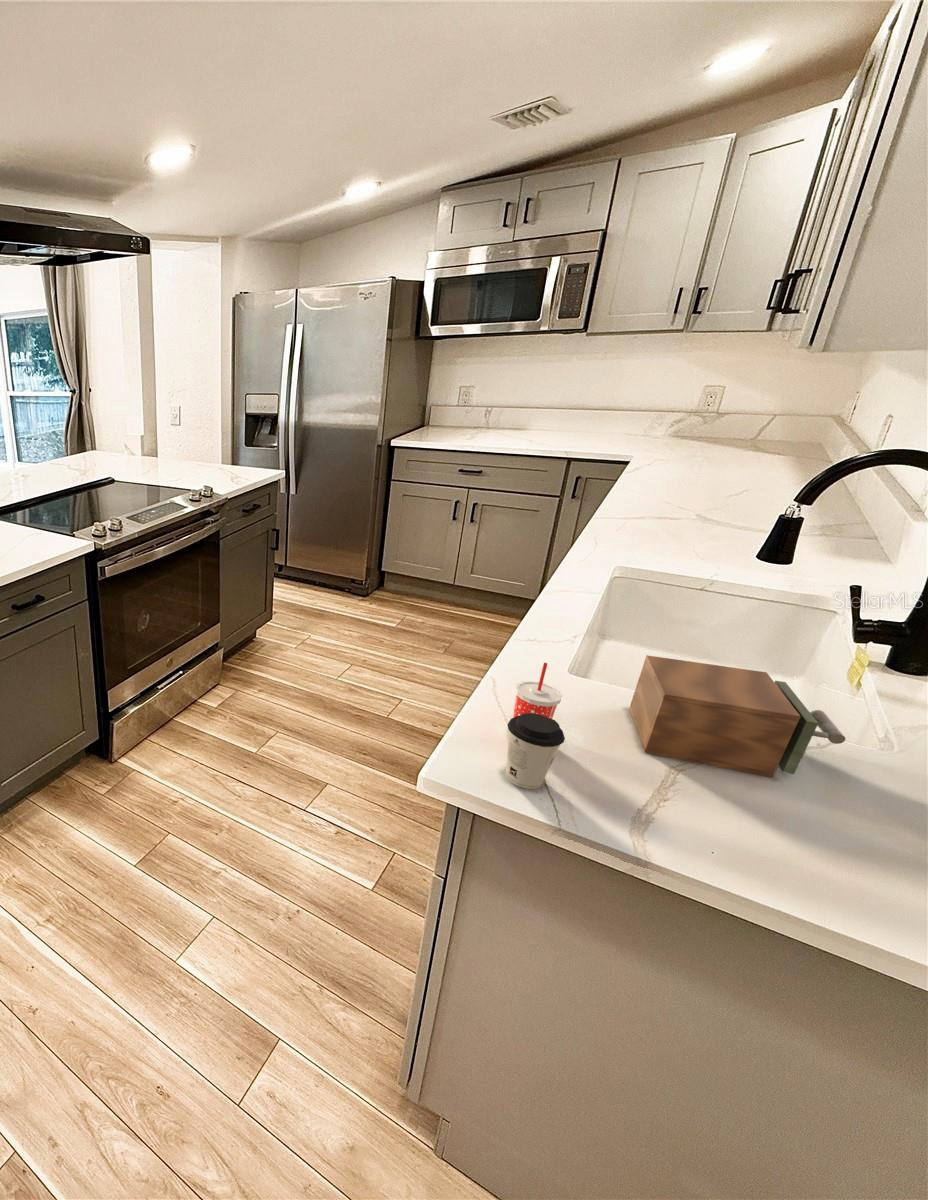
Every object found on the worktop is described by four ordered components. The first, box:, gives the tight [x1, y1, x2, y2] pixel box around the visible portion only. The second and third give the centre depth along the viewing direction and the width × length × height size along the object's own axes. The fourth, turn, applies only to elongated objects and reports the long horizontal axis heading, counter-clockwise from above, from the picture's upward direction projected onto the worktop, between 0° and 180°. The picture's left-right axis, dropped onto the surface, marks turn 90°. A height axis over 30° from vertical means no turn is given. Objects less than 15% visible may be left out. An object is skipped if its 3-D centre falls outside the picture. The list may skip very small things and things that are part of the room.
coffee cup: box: [505, 713, 566, 790], centre depth 89 cm, size 7×7×10 cm
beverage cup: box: [512, 662, 563, 719], centre depth 96 cm, size 6×6×14 cm
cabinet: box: [628, 655, 800, 778], centre depth 94 cm, size 15×13×11 cm
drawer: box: [774, 680, 846, 775], centre depth 91 cm, size 18×11×9 cm, turn 62°
